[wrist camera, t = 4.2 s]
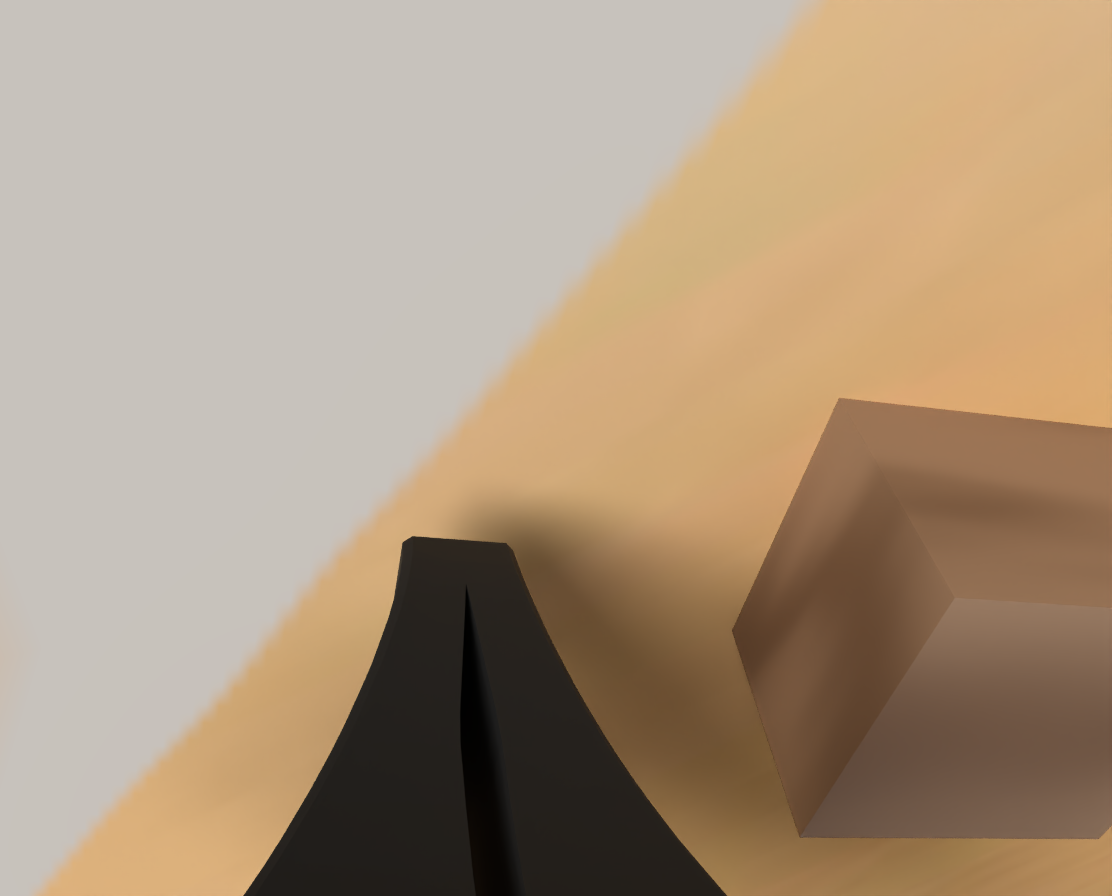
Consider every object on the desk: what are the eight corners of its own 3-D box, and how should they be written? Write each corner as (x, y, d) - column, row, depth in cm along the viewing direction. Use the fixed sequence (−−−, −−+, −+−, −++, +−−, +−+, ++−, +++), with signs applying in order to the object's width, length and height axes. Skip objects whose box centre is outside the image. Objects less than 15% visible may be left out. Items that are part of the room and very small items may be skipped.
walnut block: (981, 638, 18) (1098, 839, 15) (730, 624, 17) (800, 837, 14) (1129, 424, 15) (1314, 621, 12) (836, 392, 14) (954, 598, 11)
